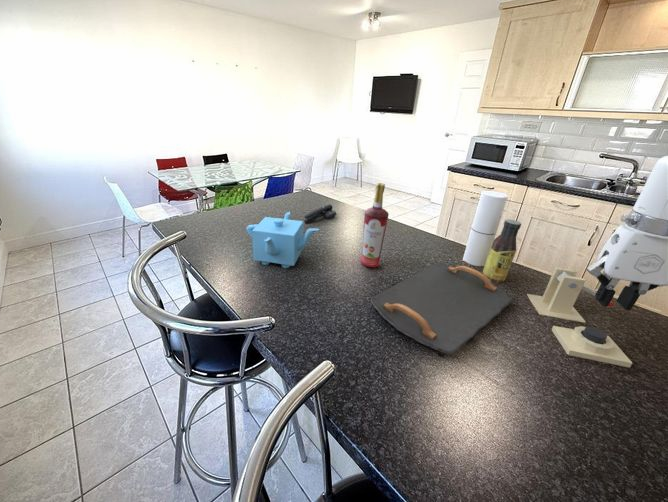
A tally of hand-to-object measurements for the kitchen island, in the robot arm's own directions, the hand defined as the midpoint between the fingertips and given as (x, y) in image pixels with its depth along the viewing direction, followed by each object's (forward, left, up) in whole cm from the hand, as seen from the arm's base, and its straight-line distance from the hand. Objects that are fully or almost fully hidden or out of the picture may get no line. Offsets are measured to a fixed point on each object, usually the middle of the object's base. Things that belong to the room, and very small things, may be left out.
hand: (612, 303), depth 62 cm
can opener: (+68, -66, -13) cm, 96 cm away
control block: (0, 0, -13) cm, 13 cm away
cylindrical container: (+11, -37, -13) cm, 41 cm away
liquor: (+47, -29, -13) cm, 57 cm away
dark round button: (0, 0, -10) cm, 10 cm away
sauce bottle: (+9, -27, -13) cm, 31 cm away
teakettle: (+77, -27, -13) cm, 83 cm away
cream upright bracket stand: (-1, -14, -13) cm, 19 cm away
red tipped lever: (-5, -13, -6) cm, 16 cm away
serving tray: (+29, -10, -13) cm, 33 cm away
